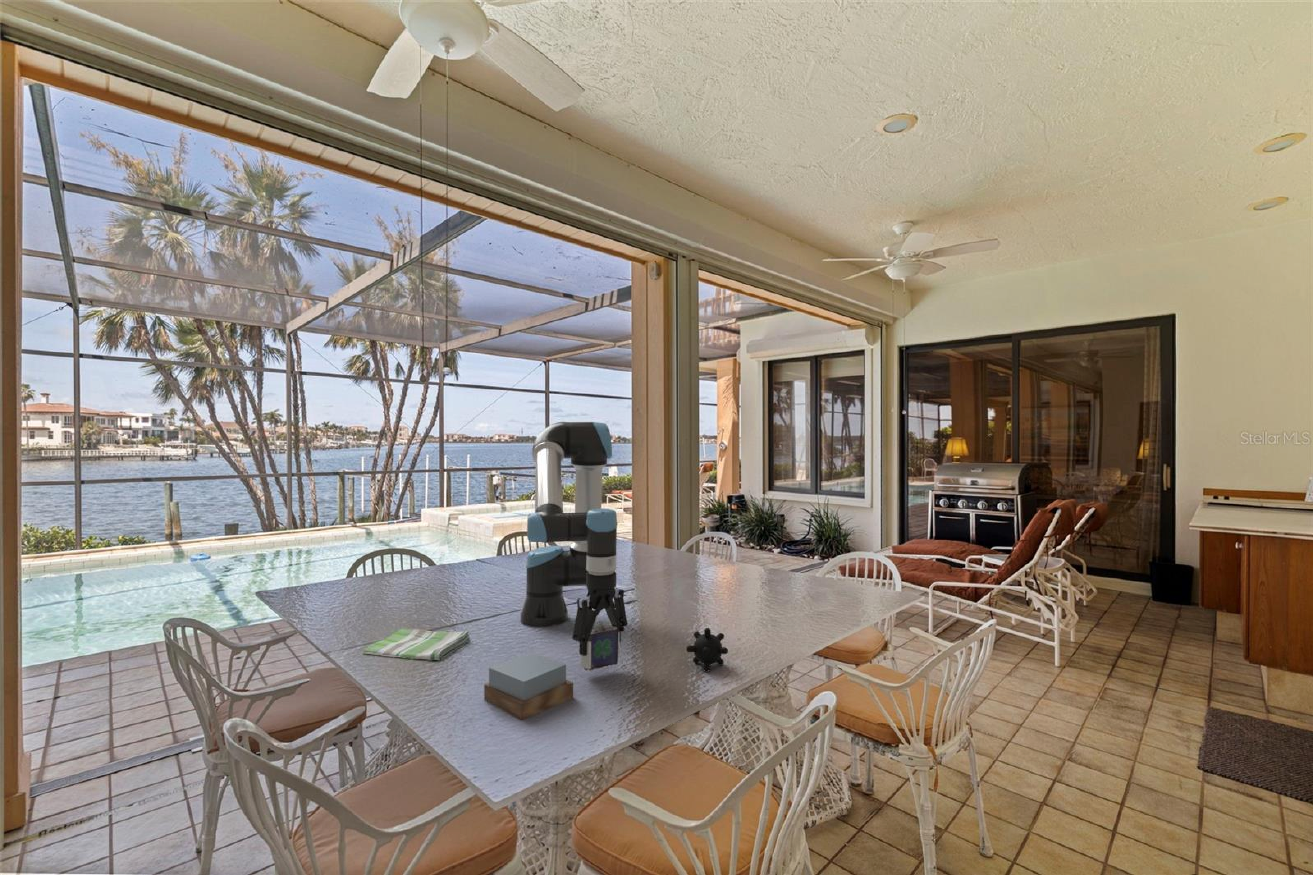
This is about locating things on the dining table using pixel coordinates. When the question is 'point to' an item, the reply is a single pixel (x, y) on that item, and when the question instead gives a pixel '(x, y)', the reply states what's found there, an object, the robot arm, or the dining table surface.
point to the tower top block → (527, 675)
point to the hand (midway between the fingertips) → (600, 661)
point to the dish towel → (420, 644)
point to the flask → (603, 646)
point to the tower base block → (528, 700)
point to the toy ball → (707, 648)
